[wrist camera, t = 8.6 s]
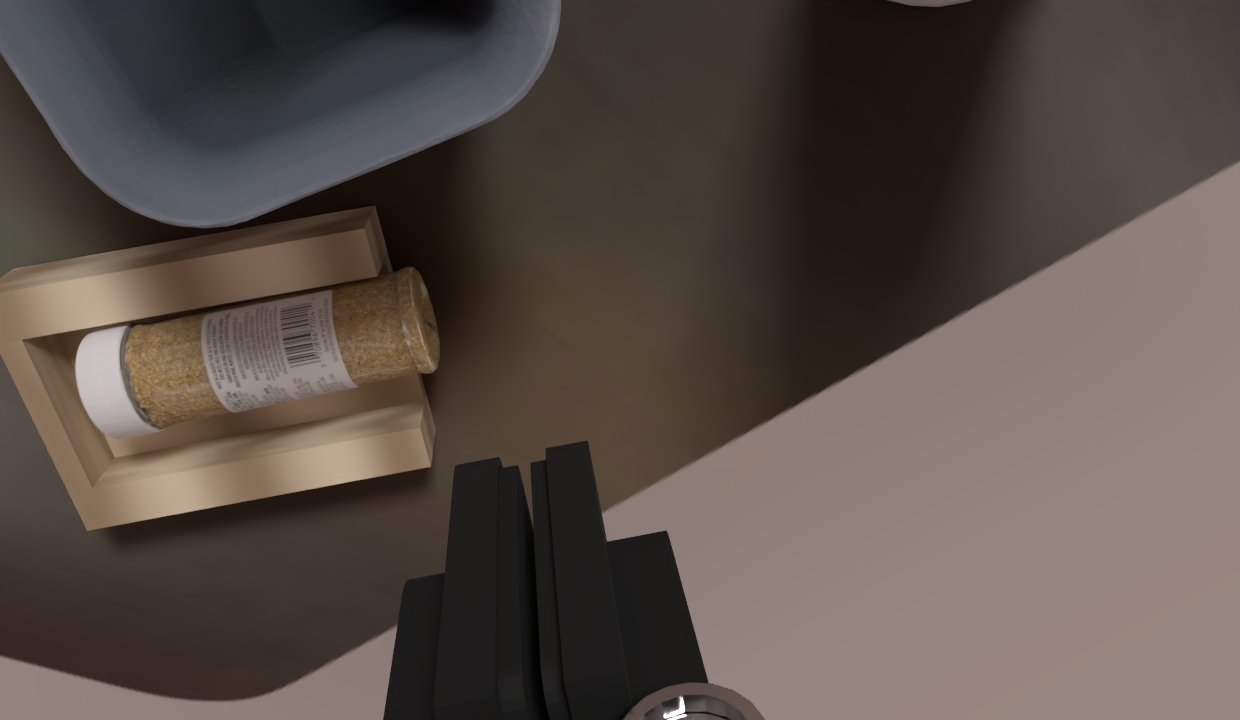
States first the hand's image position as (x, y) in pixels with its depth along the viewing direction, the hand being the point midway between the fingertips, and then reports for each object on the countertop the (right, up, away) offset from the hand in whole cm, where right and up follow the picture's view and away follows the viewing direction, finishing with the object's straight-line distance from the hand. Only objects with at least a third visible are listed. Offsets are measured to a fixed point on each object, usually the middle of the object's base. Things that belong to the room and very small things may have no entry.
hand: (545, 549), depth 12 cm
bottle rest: (-16, +3, +29) cm, 33 cm away
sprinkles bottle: (-7, +4, +26) cm, 27 cm away
